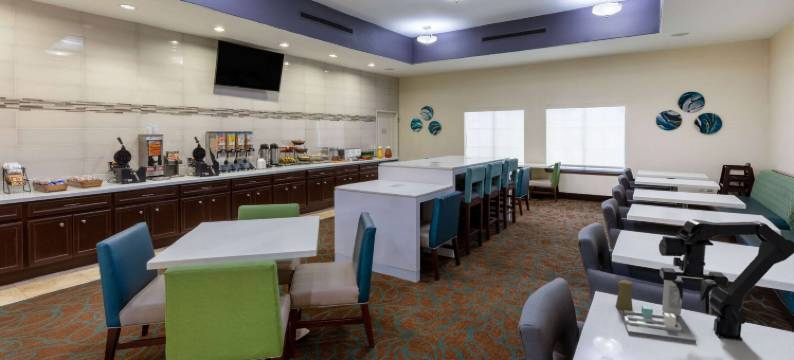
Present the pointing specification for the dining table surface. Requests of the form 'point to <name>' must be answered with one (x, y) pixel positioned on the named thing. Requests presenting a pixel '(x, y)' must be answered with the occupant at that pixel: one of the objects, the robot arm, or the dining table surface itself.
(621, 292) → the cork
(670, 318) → the fader cap
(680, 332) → the console board
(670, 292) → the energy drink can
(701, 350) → the dining table surface
